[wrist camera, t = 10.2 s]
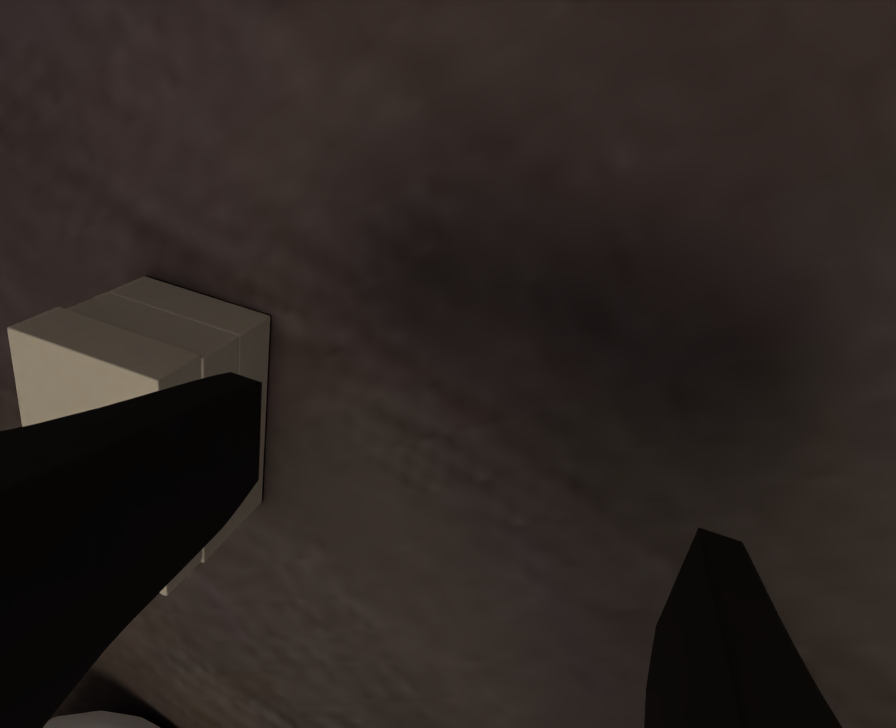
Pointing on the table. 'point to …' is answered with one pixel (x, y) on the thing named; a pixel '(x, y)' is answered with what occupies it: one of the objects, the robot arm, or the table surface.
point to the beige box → (91, 371)
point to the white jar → (99, 721)
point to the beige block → (195, 346)
